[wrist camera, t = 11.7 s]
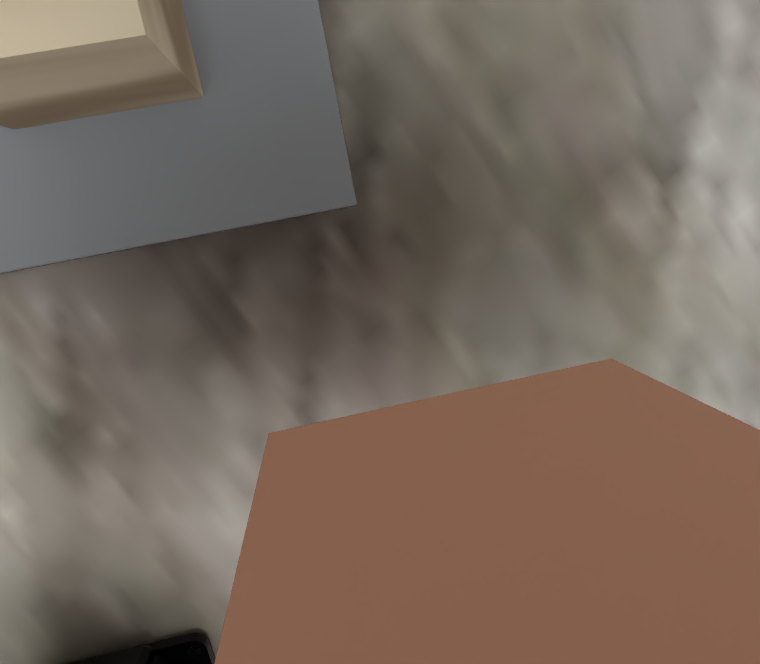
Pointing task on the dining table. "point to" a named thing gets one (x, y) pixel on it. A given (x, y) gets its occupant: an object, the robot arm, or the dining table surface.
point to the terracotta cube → (507, 531)
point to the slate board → (187, 147)
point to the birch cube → (92, 58)
